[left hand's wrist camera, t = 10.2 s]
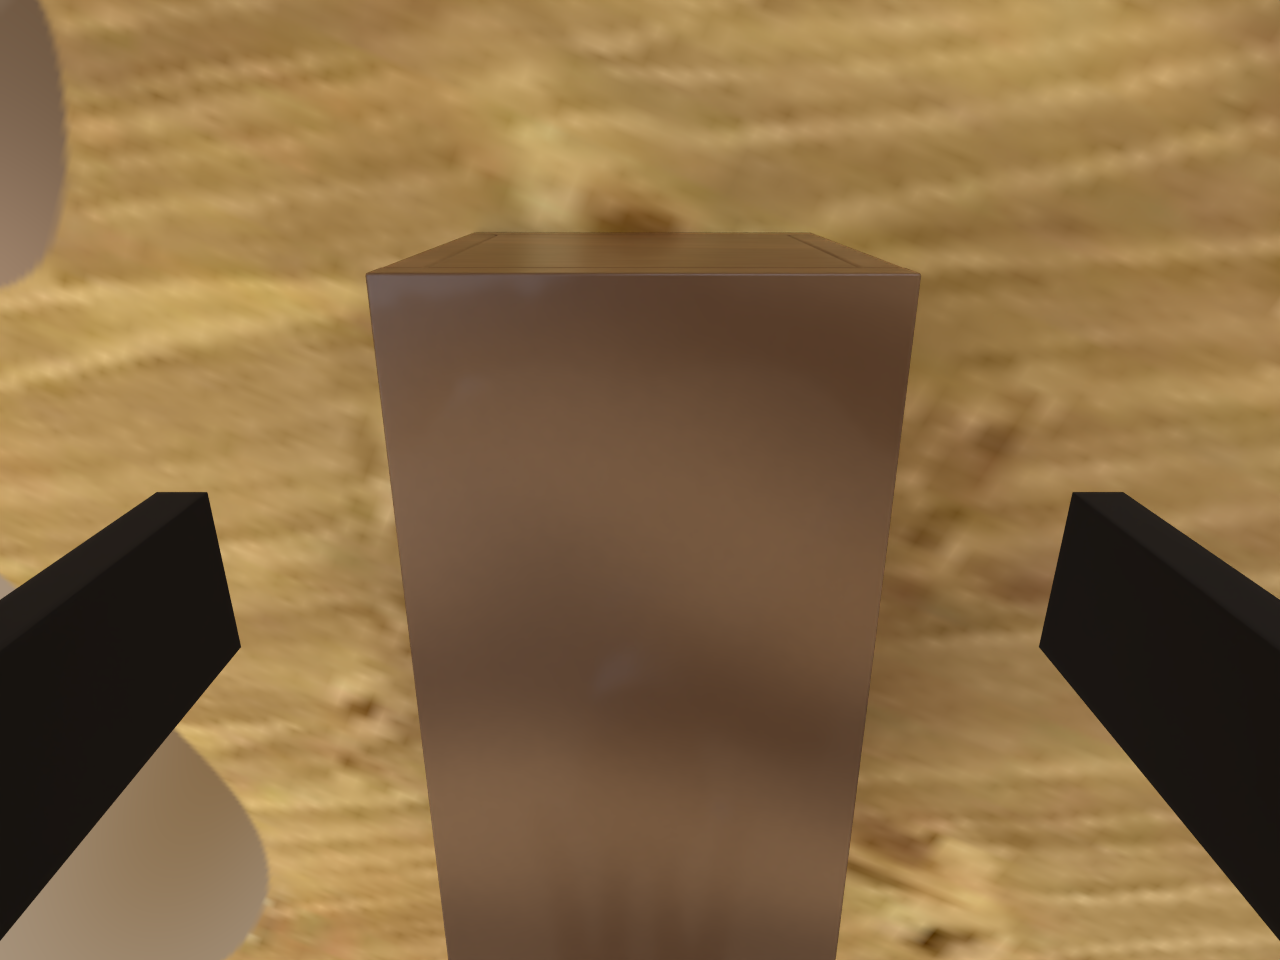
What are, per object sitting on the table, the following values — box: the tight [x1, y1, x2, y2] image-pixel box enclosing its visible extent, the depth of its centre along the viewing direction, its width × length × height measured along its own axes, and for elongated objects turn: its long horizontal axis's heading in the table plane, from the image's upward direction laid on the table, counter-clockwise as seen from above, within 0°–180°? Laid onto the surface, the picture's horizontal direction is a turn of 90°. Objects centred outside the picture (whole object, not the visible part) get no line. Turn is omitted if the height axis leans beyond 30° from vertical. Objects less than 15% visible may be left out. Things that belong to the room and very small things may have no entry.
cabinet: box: [366, 233, 921, 960], centre depth 24 cm, size 21×11×11 cm, turn 0°
